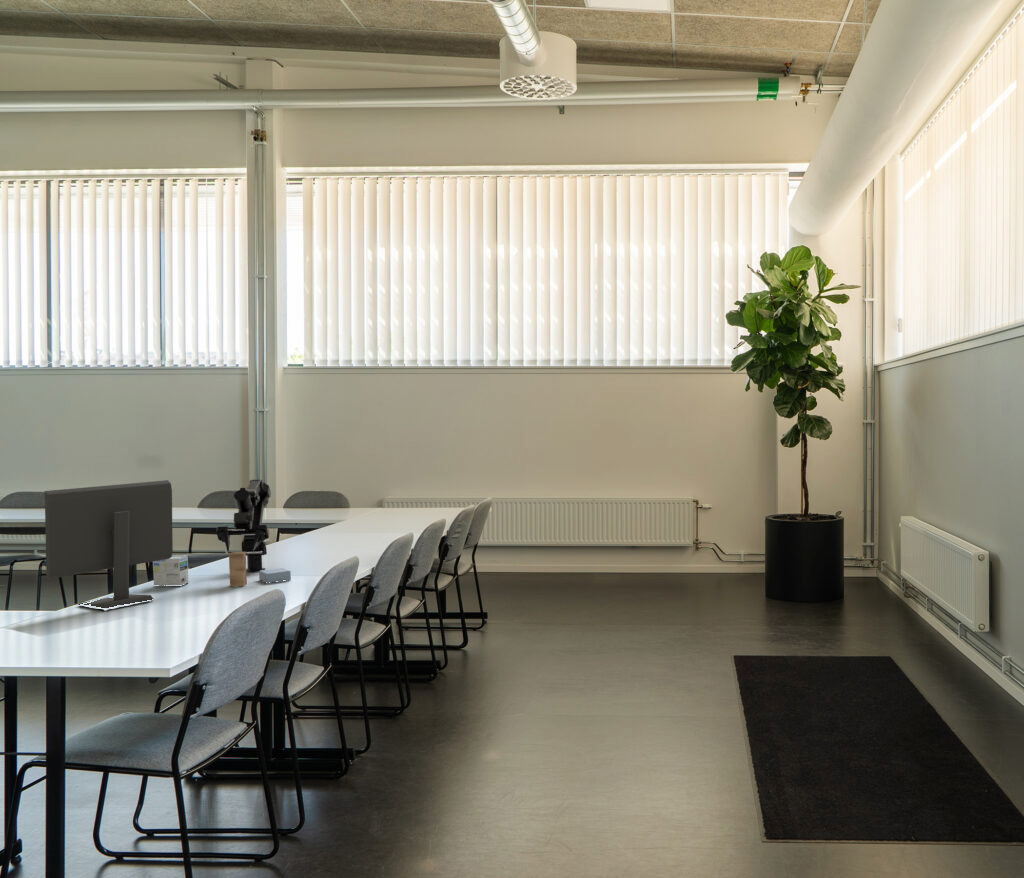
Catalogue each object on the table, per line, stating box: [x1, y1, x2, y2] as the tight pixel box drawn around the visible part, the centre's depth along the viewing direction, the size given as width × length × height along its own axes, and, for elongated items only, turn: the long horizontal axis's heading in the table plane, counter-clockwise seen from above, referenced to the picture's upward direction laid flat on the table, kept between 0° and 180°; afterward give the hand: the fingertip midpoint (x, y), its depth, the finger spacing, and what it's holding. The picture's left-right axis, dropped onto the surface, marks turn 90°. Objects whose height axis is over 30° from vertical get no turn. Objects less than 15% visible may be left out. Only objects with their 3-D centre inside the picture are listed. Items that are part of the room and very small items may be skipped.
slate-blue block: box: [258, 567, 292, 584], centre depth 339 cm, size 9×9×4 cm
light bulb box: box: [152, 555, 190, 586], centre depth 334 cm, size 11×7×11 cm, turn 84°
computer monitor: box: [44, 479, 174, 608], centre depth 302 cm, size 44×16×40 cm, turn 145°
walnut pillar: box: [228, 551, 248, 587], centre depth 330 cm, size 5×5×12 cm
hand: (240, 550), depth 336 cm, fingers open, 9 cm apart
